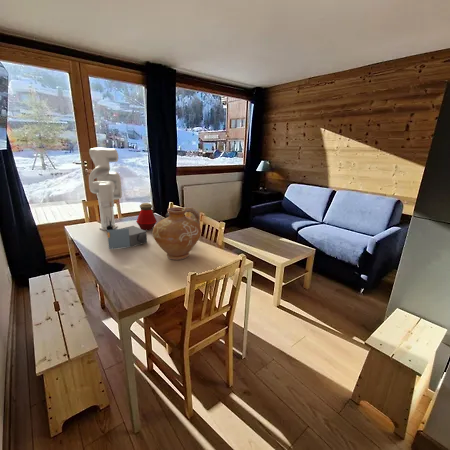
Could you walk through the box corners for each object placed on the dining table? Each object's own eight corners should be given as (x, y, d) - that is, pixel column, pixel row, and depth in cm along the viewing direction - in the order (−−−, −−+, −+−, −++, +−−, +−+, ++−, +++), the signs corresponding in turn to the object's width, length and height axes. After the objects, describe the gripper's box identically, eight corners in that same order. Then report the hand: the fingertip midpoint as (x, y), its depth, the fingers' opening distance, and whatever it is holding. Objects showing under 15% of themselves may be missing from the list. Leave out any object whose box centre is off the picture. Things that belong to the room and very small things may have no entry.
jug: (150, 249, 159) (148, 203, 150) (193, 244, 170) (193, 201, 161) (157, 269, 135) (155, 216, 125) (207, 262, 146) (208, 212, 136)
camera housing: (118, 240, 171) (117, 229, 168) (134, 236, 180) (133, 225, 177) (132, 248, 160) (131, 236, 157) (149, 243, 169) (148, 232, 166)
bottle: (133, 229, 192) (131, 204, 186) (143, 224, 205) (141, 200, 198) (151, 232, 188) (149, 206, 182) (160, 227, 201) (159, 203, 194)
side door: (109, 249, 155) (106, 230, 151) (109, 248, 156) (107, 229, 153) (130, 247, 160) (128, 229, 156) (130, 246, 161) (128, 228, 157)
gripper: (101, 201, 155) (104, 228, 161) (99, 207, 142) (102, 237, 148) (114, 200, 158) (117, 228, 163) (113, 206, 144) (116, 236, 150)
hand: (110, 232), depth 156 cm, fingers closed
